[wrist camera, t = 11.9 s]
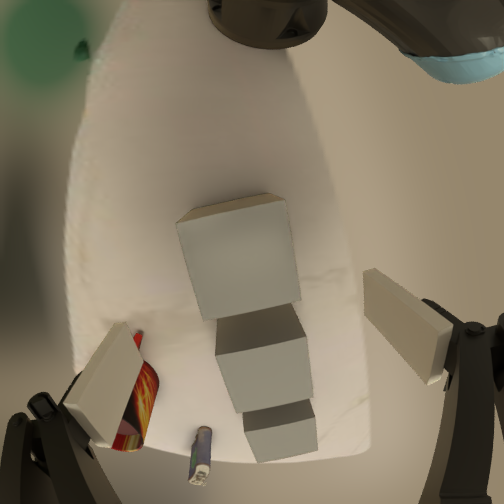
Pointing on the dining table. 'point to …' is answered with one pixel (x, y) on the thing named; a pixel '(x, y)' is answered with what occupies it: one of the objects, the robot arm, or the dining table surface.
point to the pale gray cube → (264, 358)
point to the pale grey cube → (240, 256)
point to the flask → (200, 457)
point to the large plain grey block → (281, 431)
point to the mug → (137, 408)
